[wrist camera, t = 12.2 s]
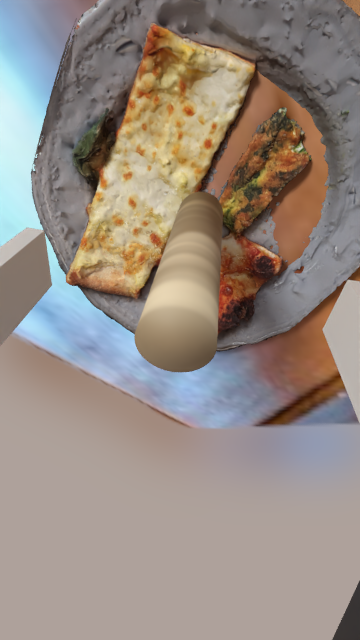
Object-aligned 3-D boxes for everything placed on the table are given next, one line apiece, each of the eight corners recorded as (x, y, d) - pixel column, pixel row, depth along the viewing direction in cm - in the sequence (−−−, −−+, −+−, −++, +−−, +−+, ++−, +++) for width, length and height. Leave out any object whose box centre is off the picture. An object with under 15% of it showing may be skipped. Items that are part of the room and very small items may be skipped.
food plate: (230, 372, 34) (230, 397, 31) (15, 254, 28) (-8, 272, 25) (469, 142, 20) (510, 149, 17) (149, -160, 15) (131, -221, 12)
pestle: (181, 188, 21) (136, 303, 11) (227, 195, 21) (224, 318, 11) (176, 231, 23) (133, 364, 13) (218, 238, 23) (208, 378, 13)
